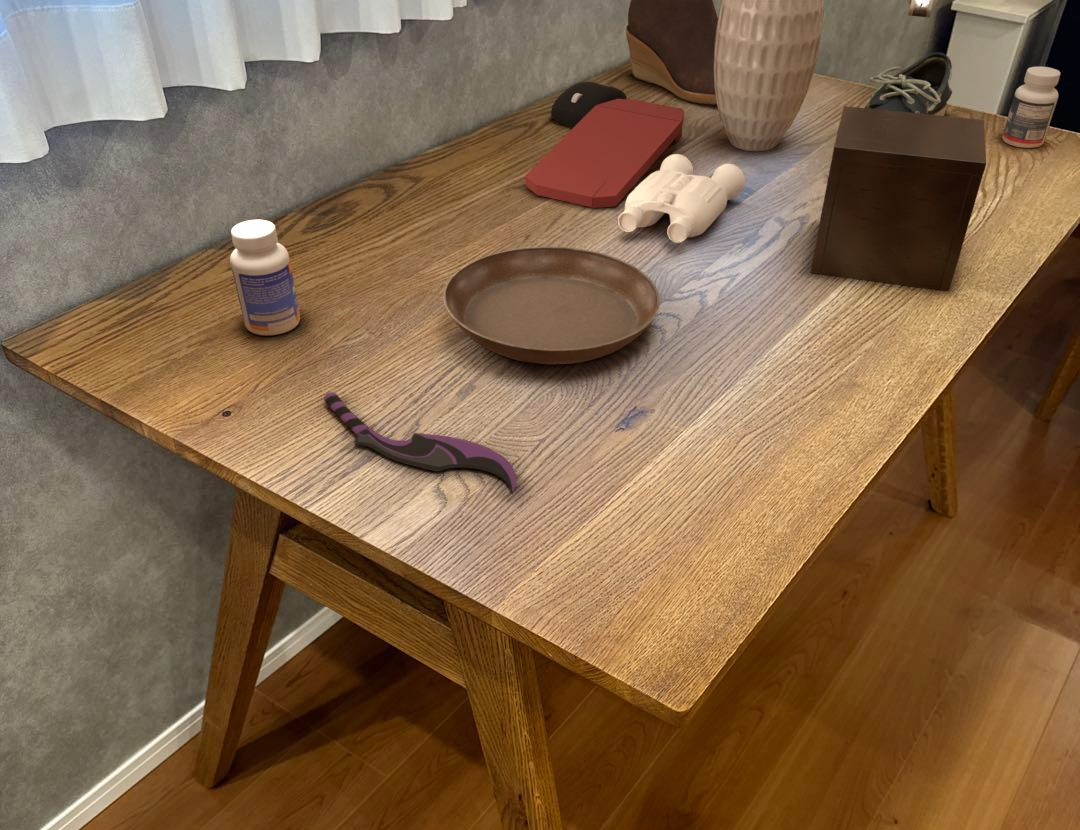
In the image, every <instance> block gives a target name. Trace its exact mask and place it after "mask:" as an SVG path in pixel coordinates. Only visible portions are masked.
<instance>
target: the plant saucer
mask: <svg viewBox="0 0 1080 830" xmlns="http://www.w3.org/2000/svg"><path fill="white" fill-rule="evenodd" d="M444 286H445V287H444V289H443V296H442V297H443V298H442V299H443V303H444V307H445V309H446V311H447V313H448V315H449V316H450V318H451V319H452V320H453V321H454V323H455V324H456V325H457V326H458V327H459V328H460V330H461V331H463V332H464V334H466V335H467V336H468V337H469V338H470V339H472V340H473V341H474V342H475V343H477V344H479V345H480V346H482V347H483V348H485V349H486V350H489V351H491V352H493V353H495V354H497V355H500V356H502V357H505V358H508V359H511V360H515V361H520V362H524V363H530V364H531V363H532V364H540V365H541V364H542V365H570V364H578V363H584V362H588V361H593V360H596V359H599V358H602V357H605V356H608V355H610V354H612V353H614V352H617V351H618V350H620V349H622V348H623V347H625V346H627V345H628V344H630V343H632V342H633V341H634V340H635V339H637V338H638V337H639V336H640V335H641V334H642V333H644V332H645V331H646V329H647V328H648V327H649V326H650V325H651V323H652V322H653V321H654V319H655V318H656V316H657V314H658V313H659V311H660V306H661V296H660V292H659V289H658V288H657V285H656V284H655V283H654V281H653V280H652V279H651V278H650V277H649V276H648V275H647V274H645V272H643V271H642V270H640V269H639V268H638V267H636V266H634V265H633V264H631V263H628V262H626V261H625V260H623V259H620V258H617V257H615V256H612V255H609V254H605V253H602V252H599V251H593V250H589V249H583V248H576V247H566V246H528V247H520V248H512V249H506V250H503V251H499V252H495V253H491V254H488V255H485V256H481V257H480V258H477V259H475V260H473V261H471V262H469V263H467V264H465V265H464V266H462V267H461V268H459V269H458V270H457V271H456V272H454V273H453V274H452V276H450V278H449V279H448V281H447V282H446V284H445V285H444Z"/></svg>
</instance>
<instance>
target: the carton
mask: <svg viewBox="0 0 1080 830" xmlns="http://www.w3.org/2000/svg"><path fill="white" fill-rule="evenodd" d="M684 121H685V110H684V109H683V108H680V107H677V106H676V107H675V106H670V105H664V104H660V103H654V102H648V101H642V100H637V99H631V98H627V99H625V100H624V99H615V100H612V101H608V102H605V103H601V104H598V105H596V106H595V107H594V108H593V109H592V110H591V111H590V112H589V113H588V114H587V115H586V116H585V117H584V118H583V119H582V120H581V121H580V122H579V123H578V124H577V125H576V126H575V127H574V126H573V128H571V129H570V130H569V131H568V132H567V133H566V134H565V135H564V136H563V137H562V138H561V140H559V141H558V142H557V143H556V144H555V145H554V147H552V148H551V149H550V150H549V151H548V152H547V153H546V154H545V155H544V156H543V157H542V158H541V159H540V160H539V161H538V162H537V163H536V164H535V165H534V166H533V167H532V168H531V169H530V170H529V171H528V172H527V173H526V174H525V175H524V178H525V179H524V181H525V187H527V188H528V189H529V190H530V191H531V192H532V193H534V194H535V195H537V196H540V197H545V198H549V199H553V200H559V201H562V202H567V203H571V204H574V205H580V206H584V207H588V208H593V209H595V208H609V207H617V205H618V204H620V202H621V201H622V200H623V199H624V198H625V196H626V195H627V194H628V193H629V192H630V190H632V188H633V187H634V186H635V185H636V184H637V183H638V182H639V181H640V180H641V178H643V176H644V175H645V173H647V172H648V170H649V169H650V168H651V167H652V166H653V165H654V163H655V162H656V161H657V160H658V159H659V158H660V156H661V155H662V154H663V153H665V151H666V150H667V148H668V147H669V146H671V144H673V145H676V144H677V143H679V141H680V140H681V139H682V137H683V125H684Z"/></svg>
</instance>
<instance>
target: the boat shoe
mask: <svg viewBox="0 0 1080 830" xmlns="http://www.w3.org/2000/svg"><path fill="white" fill-rule="evenodd" d="M901 69H902V68H901V66H893V67H890V68H887V69H885V70H883V71H881V72H880V73H878V75H875V76H874V75H873V76H871V77H870V78H869V82H870V83H873V84H882V85H881V86H880V87H879V88H877V89H876V90H875V91H873V92H872V94H871V97H870V100H869V101H868V102H867V103H866V105H865V106H864V107H863V108H868V109H878V110H889V111H899V112H909V113H919V114H929V115H940V116H945V114H946V110H947V106H948V101H949V100H950V98H951V97H952V94H953V90H952V88H951V87H950V84H951V81H952V78H953V64H952V61H951V58H950V57H949V56H948V55H947V54H946V53H944V52H940V51H939V52H938V51H937V52H936V51H934V52H931V53H928V54H926V55H924V56H922V57H921V58H920V59H919V60H917V61H916V62H914V63H913V64H911V65H910V66H908V67H907V68H905V69H902V70H901ZM900 70H901V71H900ZM895 71H899V72H898V73H896V74H894V75H890V74H889V73H891V72H895Z"/></svg>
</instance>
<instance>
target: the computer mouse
mask: <svg viewBox="0 0 1080 830" xmlns="http://www.w3.org/2000/svg"><path fill="white" fill-rule="evenodd" d="M615 99H624V100H625V99H628V97H627V95H626V93H625V92H624V91H622V90H621V89H619V88H617V87H615V86H612V85H608V84H605V83H600V82H595V81H581V82H577V83H574V84H572V85H570V86H569V87H568V88H566V89H565V90H564V91H563V92H561V93H560V94H559V96H558V97H556V99H555V101H554V102H553V104H552V107H551V110H550V117H551V119H552V120H554V121H555V122H558V123H561V124H564V125H567V126H570V127H573V128H574V127H575V126H576V125H577V124H578V123H579V122H580V121H581V120H582V119H583V118H584V117H585V116H586V115H587V114H588V113H589V112H590V111H591V110H592V109H593V108H594V107H595V106H596V105H598V104H601V103H605V102H608V101H612V100H615Z"/></svg>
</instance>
